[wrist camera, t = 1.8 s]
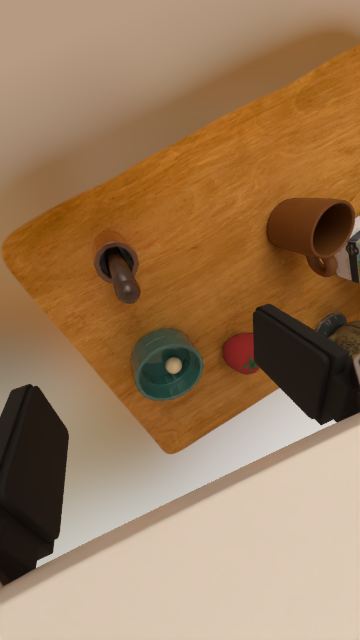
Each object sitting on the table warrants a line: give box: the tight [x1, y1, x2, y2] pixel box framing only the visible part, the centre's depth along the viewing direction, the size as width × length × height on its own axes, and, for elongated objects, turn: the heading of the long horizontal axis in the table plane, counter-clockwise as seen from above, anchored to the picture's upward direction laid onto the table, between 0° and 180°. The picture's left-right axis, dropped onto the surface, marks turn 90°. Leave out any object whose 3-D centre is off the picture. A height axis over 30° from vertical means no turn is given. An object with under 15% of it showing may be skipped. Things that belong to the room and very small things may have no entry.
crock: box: [93, 230, 139, 283], centre depth 28 cm, size 4×4×9 cm
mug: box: [267, 198, 355, 277], centre depth 36 cm, size 12×8×9 cm, turn 29°
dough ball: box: [165, 357, 182, 374], centre depth 43 cm, size 3×3×3 cm
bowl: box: [131, 329, 204, 401], centre depth 41 cm, size 12×12×6 cm
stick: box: [105, 246, 140, 304], centre depth 24 cm, size 2×2×18 cm
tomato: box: [223, 333, 260, 374], centre depth 45 cm, size 8×8×7 cm
